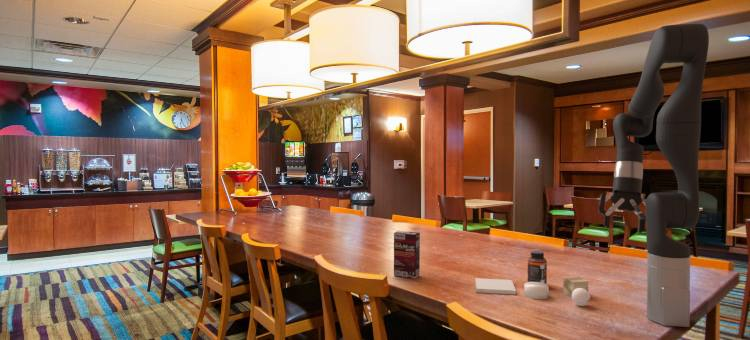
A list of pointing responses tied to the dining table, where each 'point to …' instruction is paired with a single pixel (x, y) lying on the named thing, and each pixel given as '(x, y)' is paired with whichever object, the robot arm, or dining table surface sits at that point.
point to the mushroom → (580, 296)
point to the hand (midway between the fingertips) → (623, 230)
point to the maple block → (573, 284)
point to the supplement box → (406, 254)
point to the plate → (494, 286)
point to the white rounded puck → (536, 290)
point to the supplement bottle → (537, 267)
